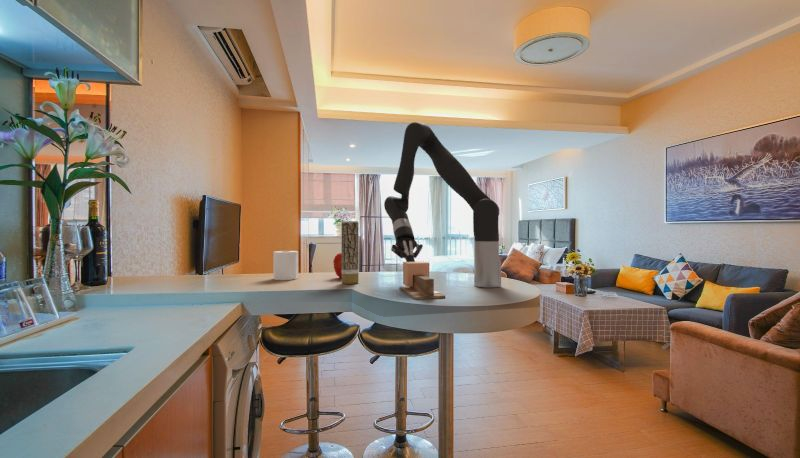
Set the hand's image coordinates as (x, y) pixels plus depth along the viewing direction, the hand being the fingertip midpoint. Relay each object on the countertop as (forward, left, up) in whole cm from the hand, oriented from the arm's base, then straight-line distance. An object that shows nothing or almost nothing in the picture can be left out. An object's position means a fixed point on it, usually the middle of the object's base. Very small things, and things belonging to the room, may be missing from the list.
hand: (411, 265), depth 131 cm
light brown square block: (0, +6, -6) cm, 9 cm away
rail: (0, +11, -8) cm, 14 cm away
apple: (+22, -33, -9) cm, 40 cm away
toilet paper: (+47, -37, -9) cm, 60 cm away
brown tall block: (+21, -17, -9) cm, 28 cm away
